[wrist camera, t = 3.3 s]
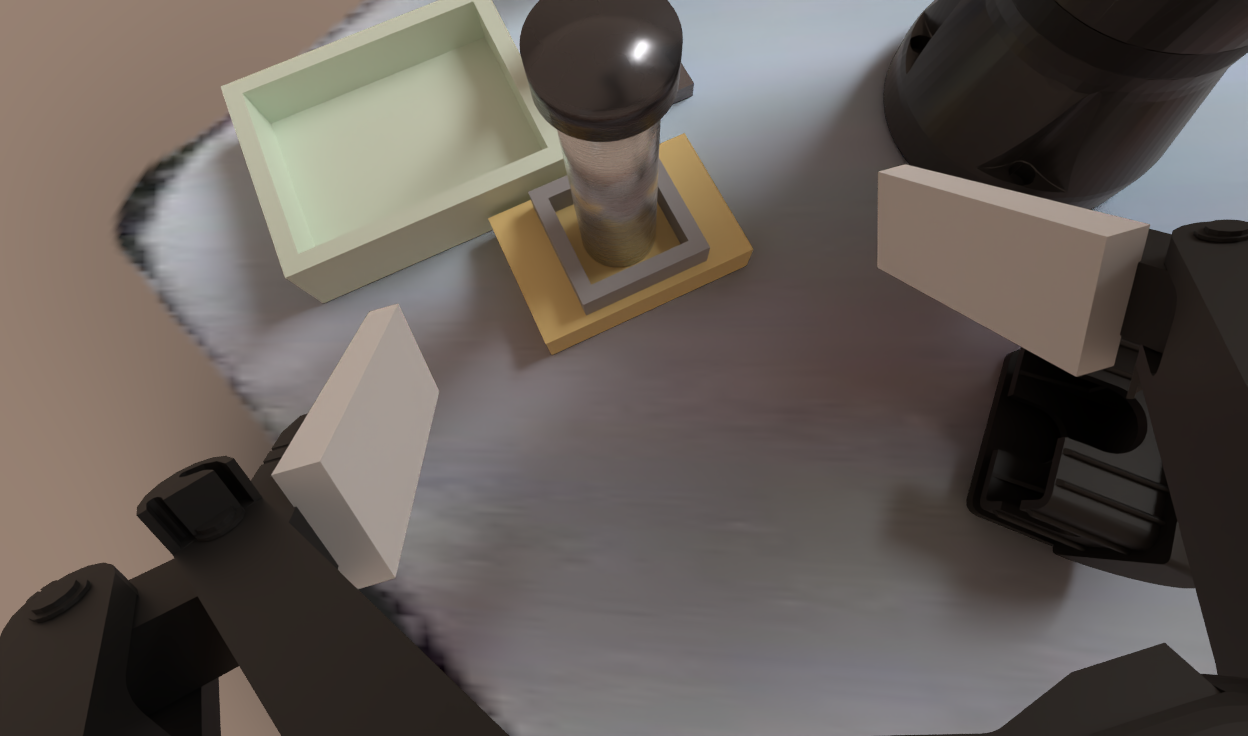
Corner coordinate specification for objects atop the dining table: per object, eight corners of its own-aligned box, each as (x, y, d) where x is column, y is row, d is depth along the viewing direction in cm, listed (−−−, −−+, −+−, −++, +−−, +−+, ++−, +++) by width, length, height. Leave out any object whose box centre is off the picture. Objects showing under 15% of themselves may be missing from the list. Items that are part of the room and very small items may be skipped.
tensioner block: (682, 155, 33) (686, 114, 30) (746, 265, 31) (759, 235, 28) (497, 236, 32) (480, 203, 29) (551, 355, 30) (540, 334, 27)
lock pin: (641, 176, 31) (638, -47, 19) (683, 253, 29) (711, 68, 17) (555, 214, 30) (495, 11, 18) (594, 293, 29) (559, 133, 17)
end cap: (1107, 579, 27) (1257, 600, 20) (959, 519, 28) (1057, 520, 21) (1145, 391, 29) (1292, 355, 22) (1008, 341, 30) (1110, 293, 23)
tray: (497, 32, 36) (482, -18, 33) (579, 191, 33) (572, 154, 30) (261, 128, 35) (220, 86, 31) (323, 303, 32) (285, 277, 28)
